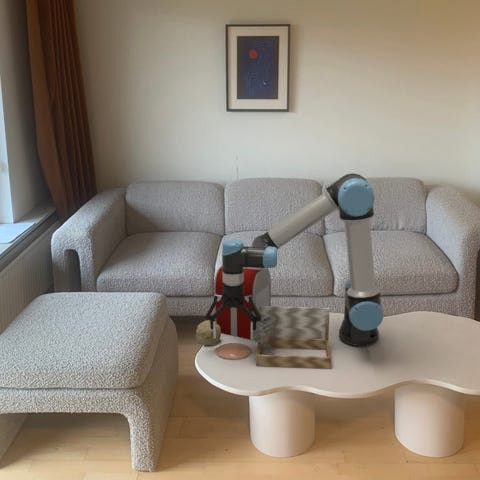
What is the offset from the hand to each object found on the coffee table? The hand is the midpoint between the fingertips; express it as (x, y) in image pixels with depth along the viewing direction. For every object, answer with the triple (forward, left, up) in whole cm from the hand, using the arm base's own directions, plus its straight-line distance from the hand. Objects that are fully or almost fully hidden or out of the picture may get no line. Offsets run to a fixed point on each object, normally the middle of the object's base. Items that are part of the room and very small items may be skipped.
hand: (233, 337), depth 242 cm
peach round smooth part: (0, 0, -6) cm, 6 cm away
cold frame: (-22, +3, -6) cm, 23 cm away
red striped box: (-2, -20, -6) cm, 21 cm away
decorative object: (+13, -8, -6) cm, 17 cm away
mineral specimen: (-10, +10, +4) cm, 15 cm away
